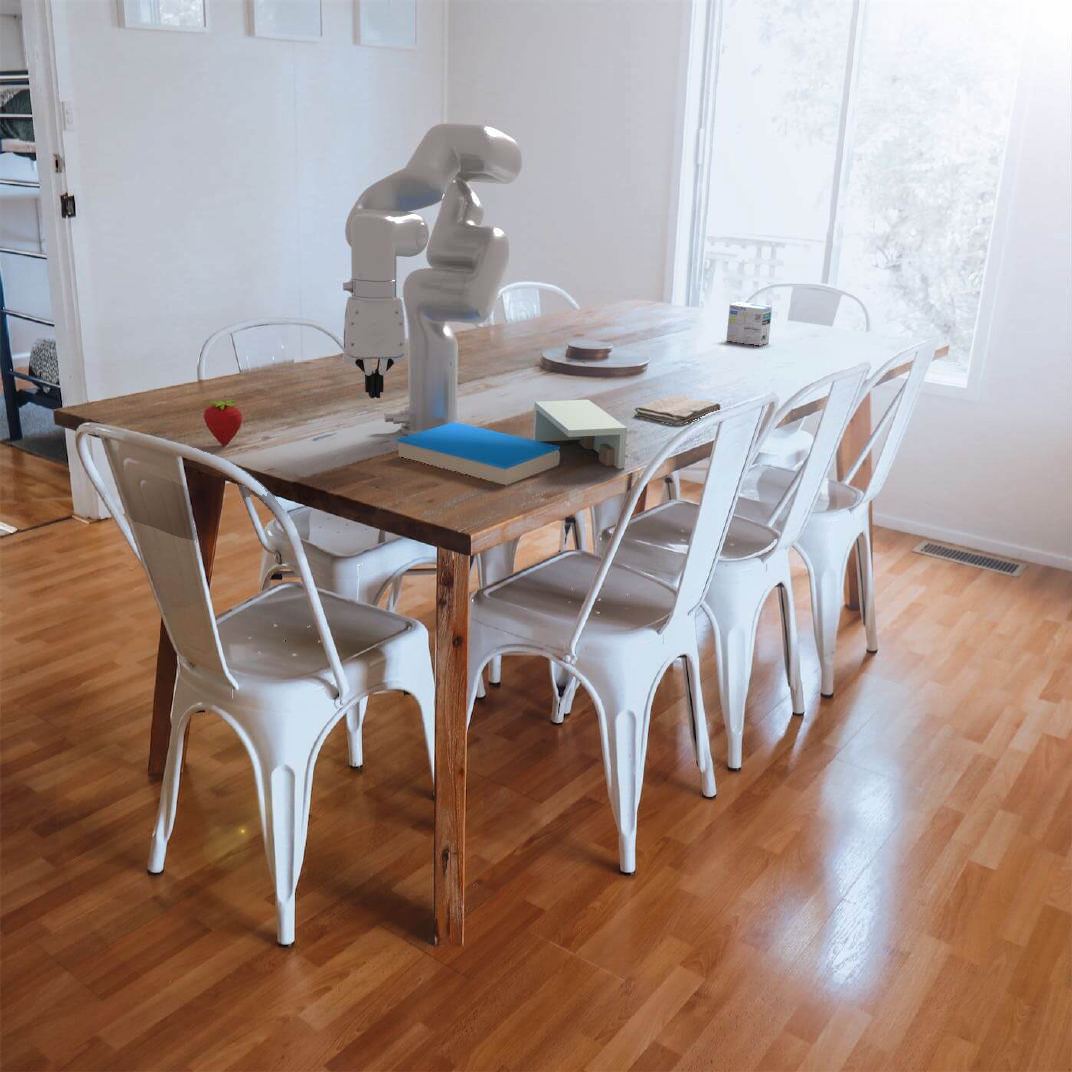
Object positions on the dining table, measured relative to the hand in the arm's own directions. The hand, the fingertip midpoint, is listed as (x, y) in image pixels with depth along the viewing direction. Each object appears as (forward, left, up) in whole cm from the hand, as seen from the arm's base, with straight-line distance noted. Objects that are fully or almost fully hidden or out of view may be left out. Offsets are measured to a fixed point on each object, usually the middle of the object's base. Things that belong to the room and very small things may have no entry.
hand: (374, 396), depth 197 cm
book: (+19, 0, -13) cm, 23 cm away
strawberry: (-25, +18, -13) cm, 33 cm away
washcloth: (+70, +26, -13) cm, 75 cm away
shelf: (+38, +1, -13) cm, 40 cm away
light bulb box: (+124, +99, -13) cm, 159 cm away
